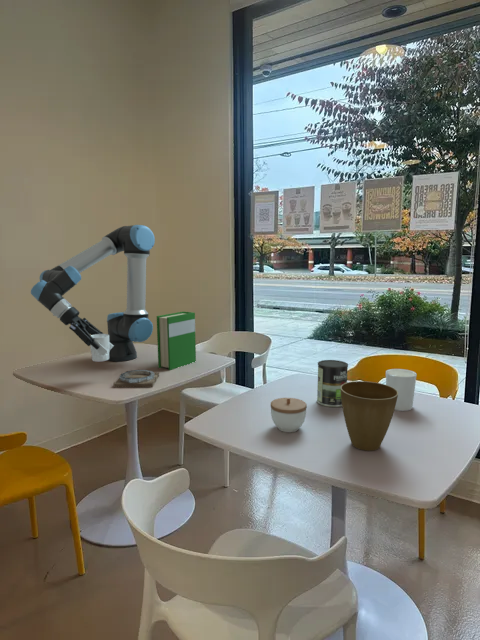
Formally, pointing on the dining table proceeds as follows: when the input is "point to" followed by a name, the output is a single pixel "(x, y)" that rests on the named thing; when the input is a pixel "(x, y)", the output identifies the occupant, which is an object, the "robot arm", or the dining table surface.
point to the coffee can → (331, 382)
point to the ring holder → (137, 379)
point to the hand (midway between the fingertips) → (108, 350)
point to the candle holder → (402, 387)
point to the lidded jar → (288, 413)
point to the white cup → (104, 341)
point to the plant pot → (367, 412)
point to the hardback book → (176, 339)
